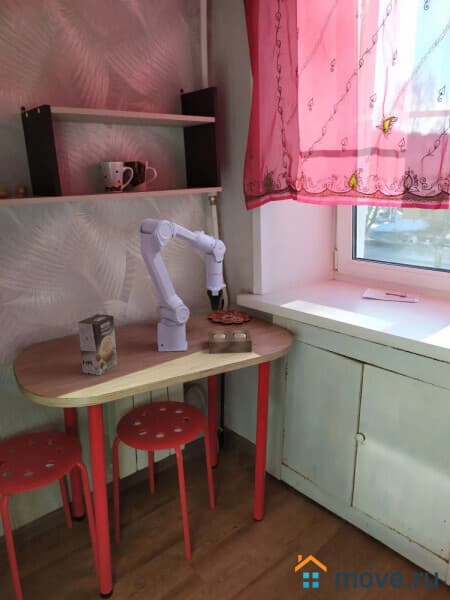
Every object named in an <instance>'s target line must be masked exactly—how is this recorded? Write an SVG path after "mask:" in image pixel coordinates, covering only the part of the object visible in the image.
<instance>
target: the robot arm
mask: <svg viewBox="0 0 450 600" xmlns="http://www.w3.org/2000/svg"><path fill="white" fill-rule="evenodd" d="M137 232H138V234H139V236H140V255H141V257H142V259H143V262H144V264H145V266H146V269H147V271H148V272H147V273H148V274H149V276H150V278H151V280H152V283H153V285H154V286H153V287H154V288H155V290H156V293H157V296H158V298H159V300H158V301H157V305H158V306H159V315H160V316H161V317H162V318H163V322H162V323H161V322H158V323H157V346H158V347H157V348H158V351H157V352H160V353H161V352H186V351H187V350H188V341H187V340H186V324H187V321H189V318H190V309H189V307H187V306H186V304H184V303H185V302H184V301H183V299H181V298H180V297H179V296H178V294H177V293H176V291H175V289H174V286H173V283H172V281H171V277H170V275H169V273H168V271H167V268H166V265H165V263H164V261H163V258H162V255H161V252H162V250H163V249H164V247H165V246H166V245H167V244H168V242H169V241H170V240H171V239H172V238H175V237H176V238H177V239H181V240H184V241H186V242H188V244H189V246H190V247H192V248H193V249H195V250H196V249H197V250H198V251H201V252H202V253H203V254H204V255H205V266H206V268H205V269H206V273H205V275H206V278H205V279H206V285H205V288H206V289H207V290H206V294H207V296H208V298H209V301H210V306H211V307H210V308H211V310H212V311H219V309H220V308H219V307H220V302H221V298H222V296H223V288H226V287H227V285H226V283H225V284H224V283H223V260H224V257H225V256H224V254H225V253H226V250H227V247H226V246H225V244H224V242H223V240H221V239H215V238H214V235H207V234H205V231H203V230H201V229H200V230H195V231H191V230H189V229H187V228H185V227H182V226H181V225H179V224H177V223H175V222H172V221H169V220H167V219H164V220H161V219H155V218H154V219H153V218H145V219H144V220H143V221H142V222H141V224H140V226H139V228H138V231H137ZM159 315H158V316H159Z"/></svg>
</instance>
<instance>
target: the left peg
mask: <svg viewBox="0 0 450 600" xmlns="http://www.w3.org/2000/svg"><path fill="white" fill-rule="evenodd" d="M217 338H225V335H224V334H215V335H214V336H213V339H217Z"/></svg>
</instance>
